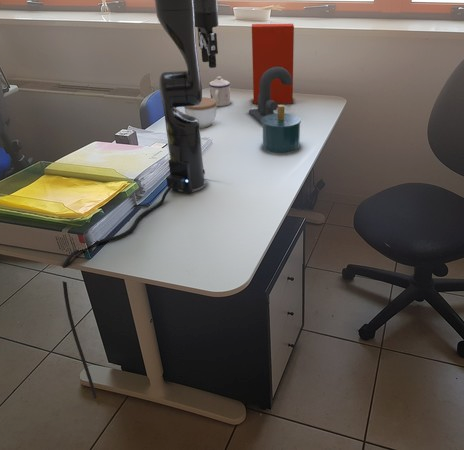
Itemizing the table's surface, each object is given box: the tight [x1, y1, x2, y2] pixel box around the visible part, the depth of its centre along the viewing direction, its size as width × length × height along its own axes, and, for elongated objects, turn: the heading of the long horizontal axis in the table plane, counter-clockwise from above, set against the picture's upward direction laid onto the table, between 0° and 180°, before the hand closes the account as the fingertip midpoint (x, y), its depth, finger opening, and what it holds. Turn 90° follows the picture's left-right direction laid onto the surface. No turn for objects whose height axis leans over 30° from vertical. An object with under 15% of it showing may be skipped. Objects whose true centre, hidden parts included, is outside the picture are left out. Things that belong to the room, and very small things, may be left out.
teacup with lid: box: [208, 76, 231, 107], centre depth 203 cm, size 12×9×12 cm
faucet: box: [248, 67, 292, 126], centre depth 186 cm, size 18×16×20 cm
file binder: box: [251, 23, 295, 105], centre depth 201 cm, size 8×17×32 cm, turn 90°
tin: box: [262, 123, 301, 154], centre depth 161 cm, size 13×13×10 cm
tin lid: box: [261, 104, 302, 128], centre depth 157 cm, size 14×14×6 cm
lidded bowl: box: [183, 96, 217, 129], centre depth 181 cm, size 13×13×11 cm
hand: (209, 64), depth 150 cm, fingers open, 8 cm apart
